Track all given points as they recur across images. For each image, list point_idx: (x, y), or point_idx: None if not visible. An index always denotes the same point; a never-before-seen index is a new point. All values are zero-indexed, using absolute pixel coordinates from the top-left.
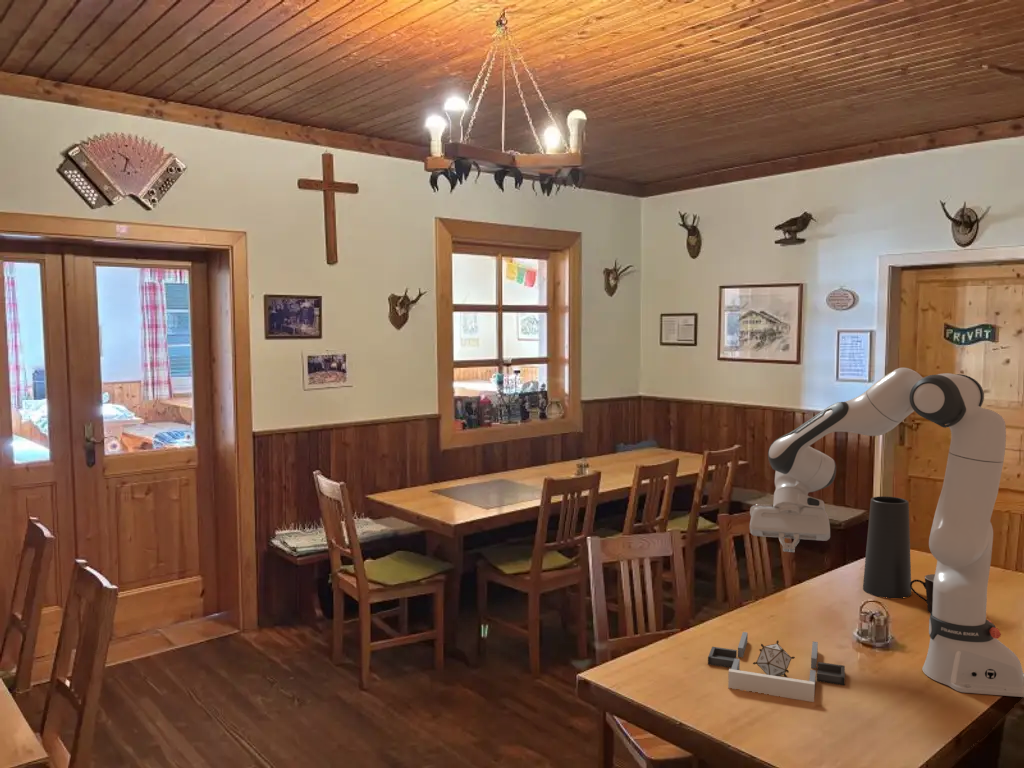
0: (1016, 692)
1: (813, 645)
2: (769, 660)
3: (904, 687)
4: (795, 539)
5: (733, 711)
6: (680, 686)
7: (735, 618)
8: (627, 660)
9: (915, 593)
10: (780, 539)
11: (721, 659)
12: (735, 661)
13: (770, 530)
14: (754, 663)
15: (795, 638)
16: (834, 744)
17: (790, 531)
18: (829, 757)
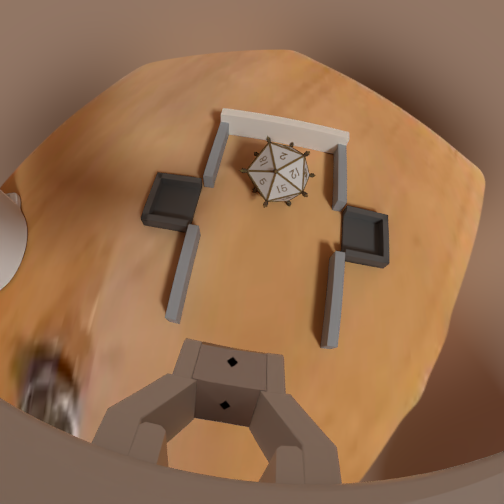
0: None
1: (178, 295)
2: (289, 146)
3: (74, 193)
4: (151, 404)
5: (326, 103)
6: (397, 152)
7: None
8: (472, 220)
9: None
10: (312, 420)
11: (366, 210)
12: (343, 189)
13: (439, 471)
14: (312, 174)
15: None
16: (221, 65)
17: (194, 474)
18: (232, 53)
